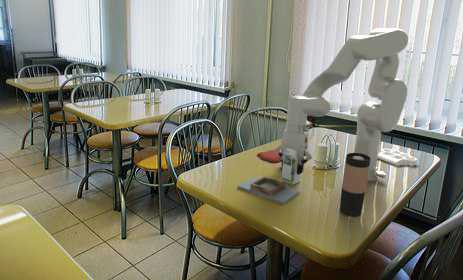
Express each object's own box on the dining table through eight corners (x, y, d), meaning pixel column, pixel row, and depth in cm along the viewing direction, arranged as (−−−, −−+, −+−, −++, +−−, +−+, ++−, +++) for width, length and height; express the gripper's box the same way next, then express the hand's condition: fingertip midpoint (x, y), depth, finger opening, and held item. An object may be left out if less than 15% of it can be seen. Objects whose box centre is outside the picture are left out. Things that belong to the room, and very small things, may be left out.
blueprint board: (299, 193, 137) (299, 190, 137) (282, 204, 128) (283, 201, 128) (255, 178, 149) (255, 176, 148) (237, 188, 140) (237, 185, 139)
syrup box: (280, 180, 148) (283, 146, 143) (290, 177, 152) (293, 143, 147) (291, 185, 144) (295, 150, 139) (301, 181, 148) (304, 147, 143)
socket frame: (285, 187, 139) (286, 183, 138) (272, 196, 132) (272, 191, 131) (264, 180, 144) (264, 176, 144) (250, 188, 137) (250, 183, 136)
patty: (271, 165, 165) (272, 161, 164) (252, 156, 176) (252, 152, 175) (299, 158, 175) (299, 154, 174) (279, 150, 186) (279, 146, 185)
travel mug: (336, 205, 128) (343, 152, 122) (358, 206, 128) (366, 153, 122) (341, 216, 121) (349, 160, 115) (365, 217, 121) (374, 161, 115)
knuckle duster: (370, 157, 181) (389, 153, 187) (401, 169, 166) (422, 165, 173) (371, 150, 180) (391, 147, 186) (403, 162, 165) (423, 158, 172)
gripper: (320, 130, 139) (315, 174, 144) (281, 122, 149) (278, 163, 154) (311, 134, 133) (307, 180, 139) (271, 125, 143) (268, 168, 149)
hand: (291, 170), depth 146 cm, fingers closed on syrup box, 6 cm apart
